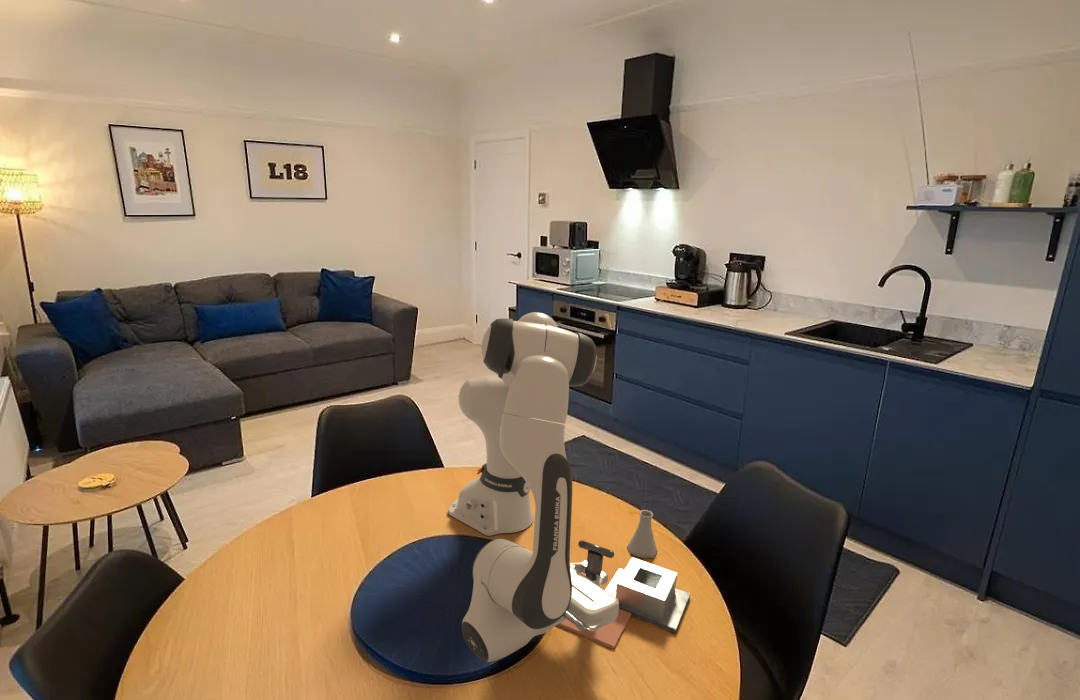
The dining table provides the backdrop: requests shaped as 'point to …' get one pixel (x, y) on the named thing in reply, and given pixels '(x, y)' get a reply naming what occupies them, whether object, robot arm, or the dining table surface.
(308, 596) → the dining table surface
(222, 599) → the dining table surface
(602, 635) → the key mat
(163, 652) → the dining table surface
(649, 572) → the block
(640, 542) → the flask
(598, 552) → the chuck key
